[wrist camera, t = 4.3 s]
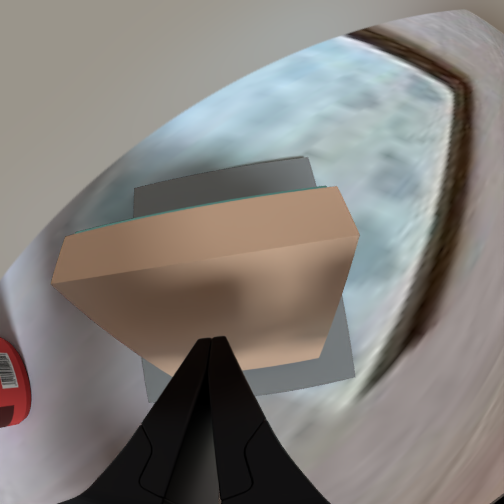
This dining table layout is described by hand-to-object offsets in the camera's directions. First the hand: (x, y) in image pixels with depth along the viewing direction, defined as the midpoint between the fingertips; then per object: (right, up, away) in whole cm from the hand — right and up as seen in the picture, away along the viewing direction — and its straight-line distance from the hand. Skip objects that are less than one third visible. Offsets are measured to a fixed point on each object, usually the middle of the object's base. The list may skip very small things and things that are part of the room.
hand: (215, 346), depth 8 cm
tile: (+1, -3, +7) cm, 7 cm away
